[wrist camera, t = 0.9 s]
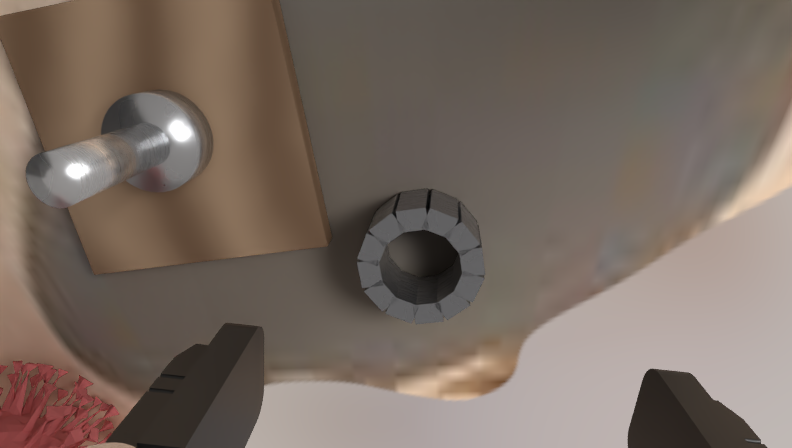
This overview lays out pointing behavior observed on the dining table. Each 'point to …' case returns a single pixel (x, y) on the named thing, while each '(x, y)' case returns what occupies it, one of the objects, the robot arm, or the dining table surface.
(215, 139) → the board
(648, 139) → the dining table surface
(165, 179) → the post
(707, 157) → the dining table surface
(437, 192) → the ring
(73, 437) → the virus model
